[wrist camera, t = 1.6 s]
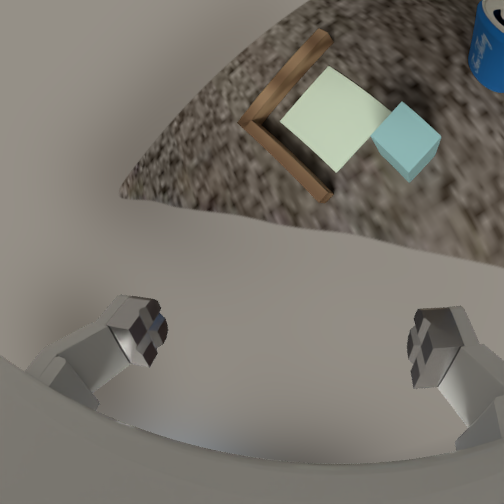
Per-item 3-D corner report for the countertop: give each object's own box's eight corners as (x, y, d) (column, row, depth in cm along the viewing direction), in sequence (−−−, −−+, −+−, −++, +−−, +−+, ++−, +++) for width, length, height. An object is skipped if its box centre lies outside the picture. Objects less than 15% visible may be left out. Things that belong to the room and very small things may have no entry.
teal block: (405, 127, 26) (401, 101, 19) (434, 155, 25) (441, 136, 18) (380, 154, 28) (370, 135, 21) (409, 183, 27) (408, 172, 20)
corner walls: (325, 37, 28) (318, 28, 26) (419, 101, 24) (419, 93, 22) (247, 127, 36) (237, 122, 34) (325, 203, 32) (318, 202, 30)
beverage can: (457, 55, 20) (463, -6, 10) (494, 46, 16) (508, -11, 6) (485, 100, 20) (509, 49, 10) (521, 90, 16) (552, 43, 6)
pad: (329, 66, 29) (328, 65, 29) (391, 112, 26) (391, 112, 26) (280, 121, 34) (279, 121, 33) (336, 172, 31) (336, 172, 31)
